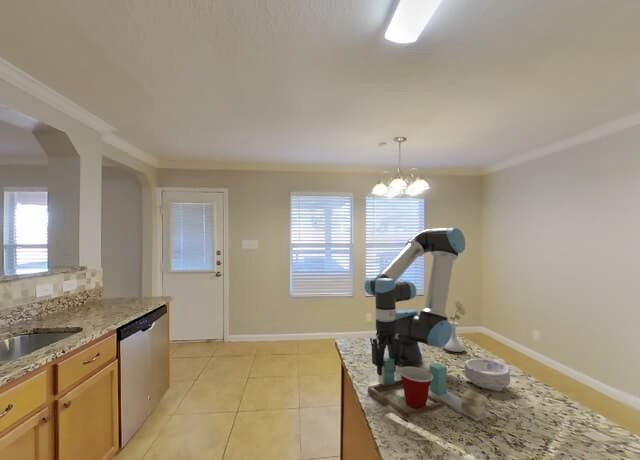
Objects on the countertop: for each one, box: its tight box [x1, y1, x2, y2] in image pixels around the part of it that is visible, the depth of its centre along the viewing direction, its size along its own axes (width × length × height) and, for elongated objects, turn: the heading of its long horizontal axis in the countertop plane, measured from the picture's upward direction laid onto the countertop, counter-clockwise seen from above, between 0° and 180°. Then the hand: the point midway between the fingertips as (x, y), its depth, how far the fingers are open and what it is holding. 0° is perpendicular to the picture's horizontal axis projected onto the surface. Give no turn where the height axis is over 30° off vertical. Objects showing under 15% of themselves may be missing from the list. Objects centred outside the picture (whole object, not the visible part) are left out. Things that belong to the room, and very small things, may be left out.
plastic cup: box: [399, 366, 433, 410], centre depth 99 cm, size 11×11×12 cm
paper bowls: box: [464, 358, 511, 392], centre depth 115 cm, size 15×15×8 cm
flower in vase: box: [442, 300, 466, 353], centre depth 154 cm, size 13×11×25 cm
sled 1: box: [367, 355, 446, 423], centre depth 105 cm, size 22×16×11 cm
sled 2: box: [428, 362, 492, 422], centre depth 100 cm, size 20×7×10 cm, turn 26°
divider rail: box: [431, 394, 479, 425], centre depth 98 cm, size 22×1×2 cm, turn 26°
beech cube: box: [460, 389, 486, 417], centre depth 95 cm, size 5×5×5 cm
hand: (386, 381), depth 113 cm, fingers closed on sled 1, 4 cm apart
